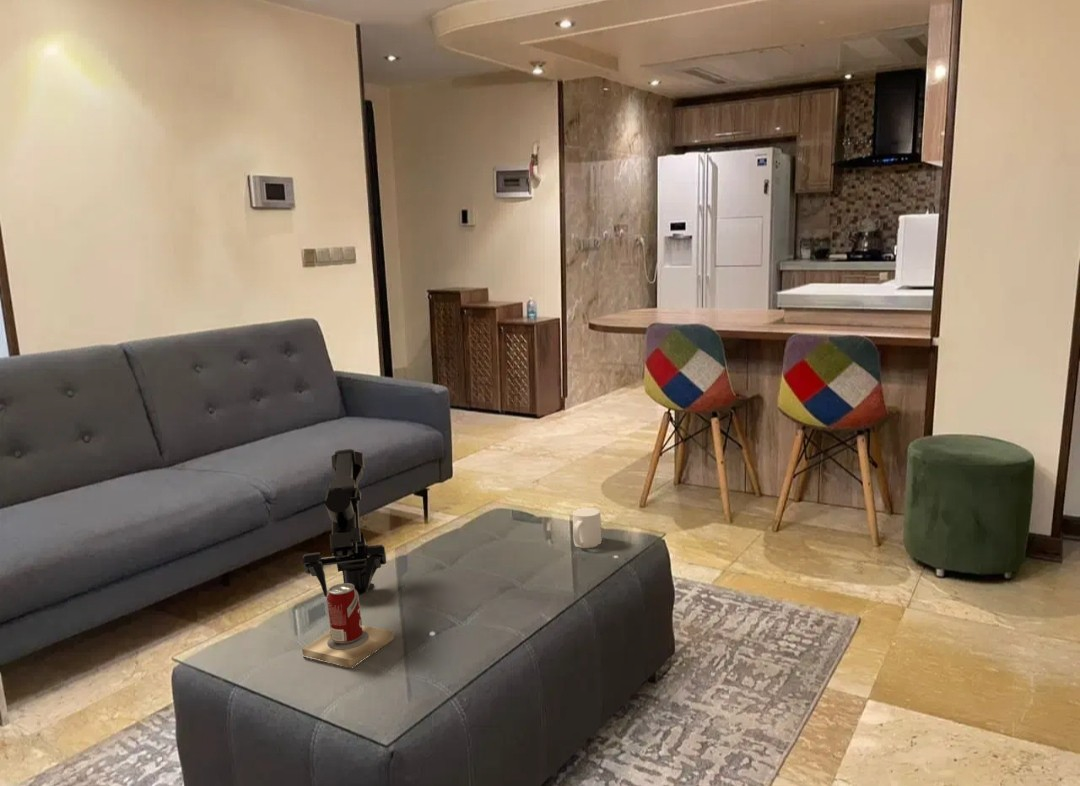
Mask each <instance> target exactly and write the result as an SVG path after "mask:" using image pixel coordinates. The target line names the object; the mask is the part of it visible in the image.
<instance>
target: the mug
mask: <svg viewBox="0 0 1080 786" xmlns="http://www.w3.org/2000/svg"><path fill="white" fill-rule="evenodd" d="M601 520H602V518H601V510H600V509H598V508H595V507H582V508H578V509H575V510H574V511H573V512H572V530H573V531H572V535H573V544H574V546H575V547H576V548H578V547H579V549H591V548H595V547H598V546H599V545H600V544H602V542H601V541H602V540H603V539H602V529H601V527H602V521H601ZM598 544H599V545H598ZM590 547H591V548H590Z"/></svg>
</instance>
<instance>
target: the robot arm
mask: <svg viewBox="0 0 1080 786" xmlns="http://www.w3.org/2000/svg"><path fill="white" fill-rule="evenodd" d="M363 469H366V467H365V458H364V453H362V452H360V451H356V450H355V449H352V448H348V449H338V450H336V451H335V452H334V454H333V455H331V470H332V472H334V473H335V476H334V477H335V478H334V479H333V480H332V481H330V482H329V486H328V490H326V493H325V498H324V505H325V507H326V510H327V512H328V516H329V518H330V520H331V534H329V542H330V544H329V545H330V553H331V554H332V555H329V556H322V554H321V552H320V551H319V552H318V551H317V552H311V553H305V554H303V556H302V567H303V569H304V571H305V574H308V575H311V576H312V577H316V579H317V580H318V582H319V584H320V586H321V590H322V591H323V592H322V593H323V594H324V597H325V598H327V596H328V589H327V581H326V580H327V579H326V574H325V571H324V566H331V565H336V566H337V567H336V568H337V572H342V578H343V583H351V584H353V585H354V587H355V588H354V589H355V590H356V591H357V592H358V596H359V595H361V594H363V593H365V592H368V591H369V589H371V588H373V587H374V586H375V583H373V582H372V580H373V577H374V575H375V573H376V571H377V570H378V569H380V568H381V567H382V565H386V564H387V553H386V549H385V546H384V545H383V544H376V545H369V544H367V542H366V538H365V536H364V534H363V533H362V532H361V528H360V509H359V508H360V507H359V502H360V501H361V499H362V492H361V491H360V488H359V486H358V485H359V483H360V481H361V480H362V479H363V476H364V475H363Z"/></svg>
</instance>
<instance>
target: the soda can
mask: <svg viewBox="0 0 1080 786" xmlns="http://www.w3.org/2000/svg"><path fill="white" fill-rule="evenodd" d="M354 588H355V587H354V585H353V584H351V583H344V582H343V583H338V584H335V585H332V586H331V587H329V588H328V593H327V597H326V602H327V610H328V611H327V612H328V617H329V618H328V619H329V626H330V627H329V628H330V631H331V637H332V640H333V641H334V642H336V643H339V644H349V643H352V642H355V641H356V640H358V639H359V638H360V637H361V636H362V634H363V631H362V624H363V623H362V616H361V607H360V599H359V598H360V596H359V595H358V592H357V591H356V590H355V589H354Z"/></svg>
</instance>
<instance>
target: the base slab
mask: <svg viewBox="0 0 1080 786" xmlns="http://www.w3.org/2000/svg"><path fill="white" fill-rule="evenodd" d="M362 631H363V634H362V636H361V637H360V638H359V639H358V640H356V641H355V642H352V643H349V644H339V643H336V642H334V641H333V640H332V637H331V630H330V631H329V632H327V633H325V634H324V635H322V636H320V637H319V638H317V639H316V640H314V641H313V642H311V643H309V644H308V645H306V646H305V647H303V648H302V649H301V651H302V656H303V655H304V656H308V657H312V658H316V659H320V660H323V661H327V662H330V663H335V664H339V665H342V666H347V667H351V668H352V667H354V666H355V665H356V664H357V663H359V662H360V661H361V660H363V659H364V658H366V657H367V656H369V655H371V654H372V653H374V652H375V651H376V650H378V649H380V648H381V649H382V647H383V646H384V647H385V646H387V645H388V644H390V643H391V642H392V641H394V640H395V639H394V638H395V637H394V632H393V630H388V629H383V628H377V627H372V626H368V625H362ZM389 642H390V643H389ZM384 647H383V648H384ZM381 649H380V650H381ZM378 651H379V650H378ZM375 653H376V652H375ZM375 653H374V654H375ZM371 656H372V655H371ZM342 666H341V667H342ZM355 667H356V666H355ZM355 667H354V668H355ZM351 668H350V669H351Z"/></svg>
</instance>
